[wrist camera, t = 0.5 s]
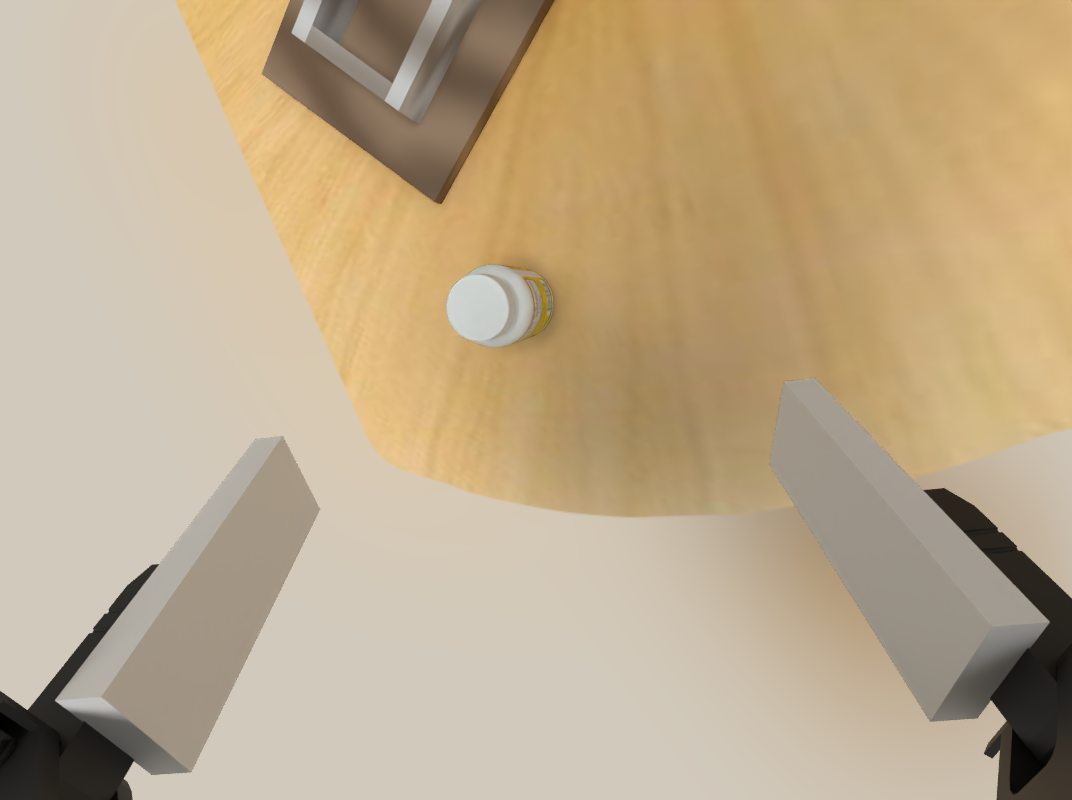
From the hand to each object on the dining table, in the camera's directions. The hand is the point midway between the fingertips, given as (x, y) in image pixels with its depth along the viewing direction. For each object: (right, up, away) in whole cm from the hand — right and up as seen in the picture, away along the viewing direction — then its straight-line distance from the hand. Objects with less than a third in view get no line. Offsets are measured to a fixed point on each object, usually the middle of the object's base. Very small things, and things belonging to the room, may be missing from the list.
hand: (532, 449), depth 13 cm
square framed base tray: (-9, +28, +23) cm, 37 cm away
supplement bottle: (-1, +9, +25) cm, 27 cm away
